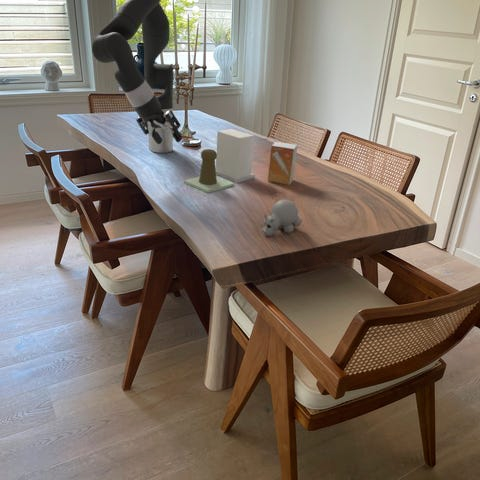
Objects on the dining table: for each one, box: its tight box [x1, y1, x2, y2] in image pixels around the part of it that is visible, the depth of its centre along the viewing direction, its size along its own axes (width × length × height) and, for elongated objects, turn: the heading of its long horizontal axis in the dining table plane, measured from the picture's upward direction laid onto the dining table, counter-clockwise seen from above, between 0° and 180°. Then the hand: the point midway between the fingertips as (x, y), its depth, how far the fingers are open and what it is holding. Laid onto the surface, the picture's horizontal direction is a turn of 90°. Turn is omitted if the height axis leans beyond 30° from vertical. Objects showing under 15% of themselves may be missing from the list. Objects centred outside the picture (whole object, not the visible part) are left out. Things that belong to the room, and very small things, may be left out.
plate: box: [183, 175, 235, 194], centre depth 155 cm, size 12×12×1 cm
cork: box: [199, 148, 217, 185], centre depth 152 cm, size 6×6×11 cm
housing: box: [215, 128, 256, 184], centre depth 162 cm, size 13×9×15 cm
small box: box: [267, 141, 298, 186], centre depth 160 cm, size 8×6×13 cm
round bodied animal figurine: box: [261, 199, 302, 237], centre depth 123 cm, size 7×12×8 cm, turn 128°
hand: (169, 141), depth 147 cm, fingers open, 8 cm apart
